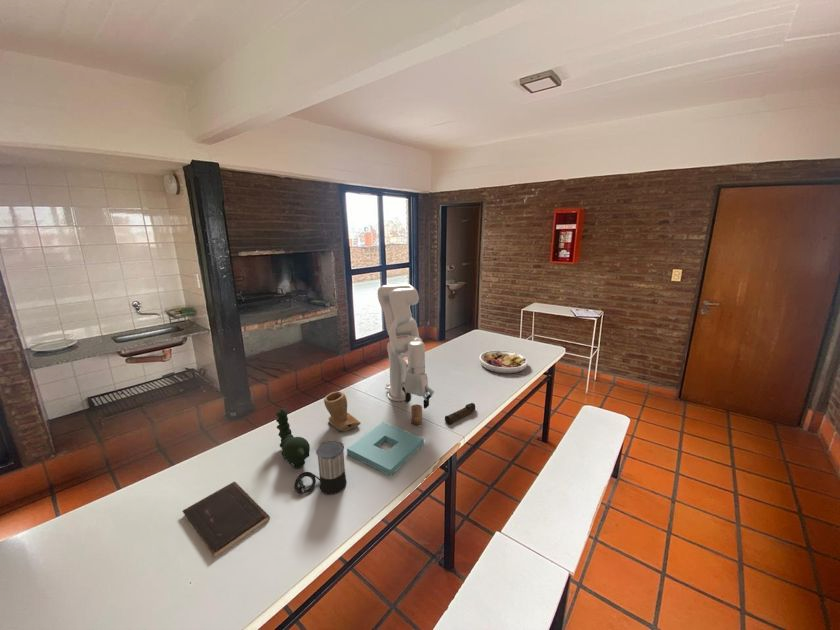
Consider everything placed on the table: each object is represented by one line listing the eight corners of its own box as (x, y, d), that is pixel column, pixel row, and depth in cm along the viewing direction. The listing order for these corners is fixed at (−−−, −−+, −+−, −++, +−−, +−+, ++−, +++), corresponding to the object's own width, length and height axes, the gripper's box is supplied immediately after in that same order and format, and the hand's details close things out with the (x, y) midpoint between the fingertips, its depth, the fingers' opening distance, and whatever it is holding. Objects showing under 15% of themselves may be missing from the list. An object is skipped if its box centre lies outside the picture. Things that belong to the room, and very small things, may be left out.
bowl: (490, 353, 236) (491, 343, 234) (533, 363, 219) (534, 352, 217) (471, 367, 213) (471, 356, 211) (517, 380, 196) (517, 367, 194)
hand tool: (449, 426, 150) (450, 417, 149) (444, 422, 154) (444, 413, 152) (479, 412, 161) (479, 404, 160) (473, 409, 164) (473, 400, 163)
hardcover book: (214, 560, 91) (212, 553, 90) (183, 516, 104) (182, 510, 104) (270, 520, 103) (269, 514, 102) (236, 486, 117) (235, 480, 116)
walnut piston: (409, 423, 152) (408, 408, 150) (415, 418, 156) (415, 403, 154) (418, 427, 149) (418, 411, 147) (424, 422, 153) (424, 406, 151)
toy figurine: (273, 450, 137) (292, 481, 117) (267, 408, 133) (285, 432, 113) (296, 442, 142) (318, 470, 122) (291, 400, 139) (312, 422, 119)
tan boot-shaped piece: (321, 422, 154) (319, 392, 150) (345, 413, 161) (343, 384, 157) (337, 437, 142) (334, 406, 138) (361, 427, 150) (359, 397, 146)
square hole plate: (347, 453, 132) (346, 448, 131) (382, 426, 150) (382, 421, 149) (390, 475, 120) (390, 470, 120) (423, 443, 138) (423, 438, 137)
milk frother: (352, 485, 116) (349, 449, 112) (309, 511, 105) (305, 472, 102) (331, 465, 126) (328, 431, 122) (290, 487, 115) (285, 450, 111)
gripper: (395, 367, 147) (396, 402, 151) (428, 376, 138) (428, 413, 142) (405, 362, 153) (406, 396, 157) (437, 370, 144) (437, 406, 148)
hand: (417, 404), depth 149 cm, fingers open, 9 cm apart
